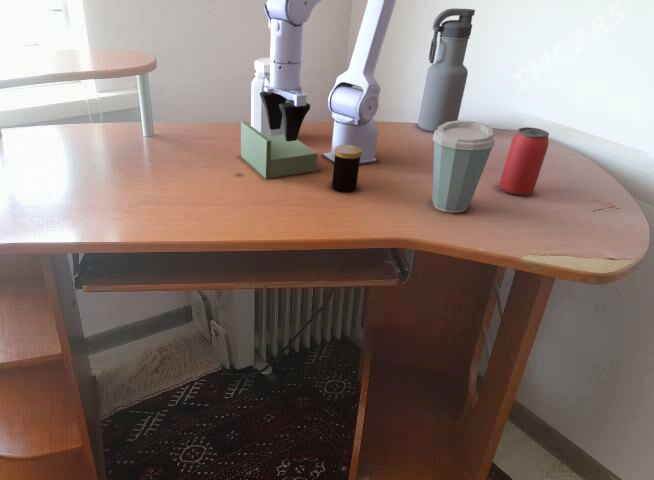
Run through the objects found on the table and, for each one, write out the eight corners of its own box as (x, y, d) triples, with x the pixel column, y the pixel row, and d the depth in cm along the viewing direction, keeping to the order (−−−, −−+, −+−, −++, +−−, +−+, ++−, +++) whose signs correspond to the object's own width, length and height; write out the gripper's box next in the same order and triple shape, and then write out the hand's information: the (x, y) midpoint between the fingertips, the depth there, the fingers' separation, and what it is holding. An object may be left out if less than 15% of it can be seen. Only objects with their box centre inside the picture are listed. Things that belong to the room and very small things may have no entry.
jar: (290, 144, 132) (294, 65, 122) (250, 143, 132) (251, 64, 122) (289, 132, 140) (293, 56, 130) (251, 131, 140) (252, 56, 130)
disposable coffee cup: (469, 223, 98) (490, 141, 89) (411, 209, 103) (426, 129, 94) (483, 203, 105) (504, 125, 97) (428, 190, 110) (444, 115, 101)
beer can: (531, 186, 112) (550, 128, 106) (533, 199, 107) (553, 139, 100) (497, 182, 114) (514, 124, 107) (498, 194, 109) (515, 134, 102)
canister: (348, 181, 113) (352, 143, 109) (361, 190, 110) (367, 151, 105) (326, 184, 112) (330, 146, 107) (339, 194, 108) (343, 155, 103)
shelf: (288, 150, 128) (289, 116, 124) (316, 171, 118) (319, 134, 113) (240, 156, 124) (240, 121, 120) (265, 178, 114) (266, 141, 109)
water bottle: (417, 132, 141) (439, 11, 125) (414, 121, 149) (434, 6, 133) (457, 134, 140) (485, 12, 124) (452, 123, 148) (478, 7, 132)
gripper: (250, 54, 104) (250, 126, 112) (282, 70, 93) (279, 148, 101) (284, 52, 106) (281, 122, 114) (319, 67, 95) (313, 144, 103)
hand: (282, 134), depth 108 cm, fingers open, 7 cm apart
